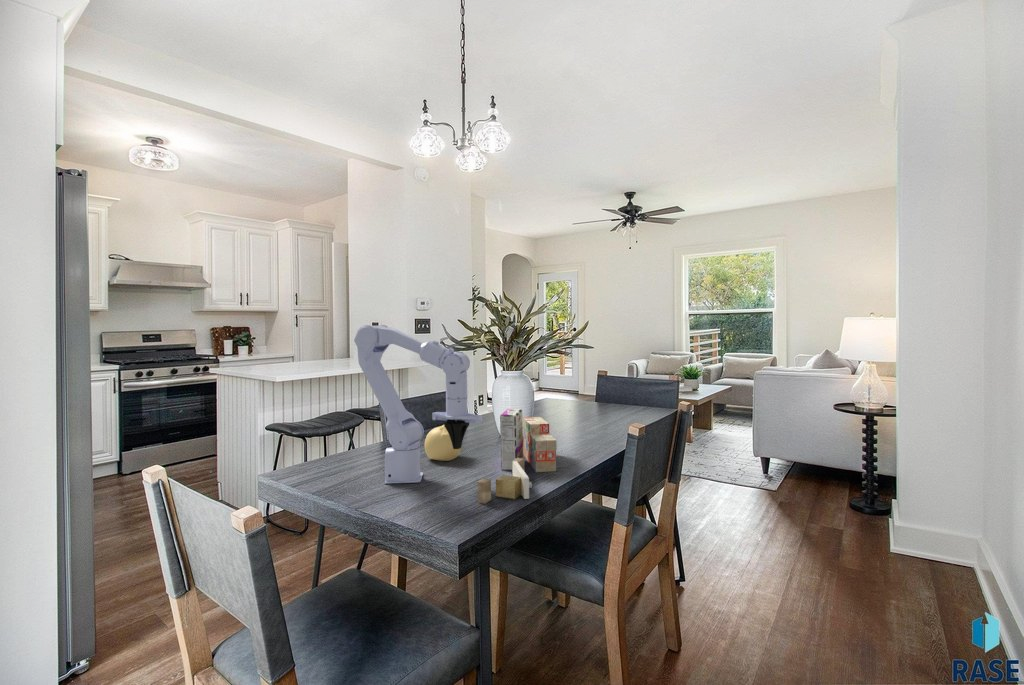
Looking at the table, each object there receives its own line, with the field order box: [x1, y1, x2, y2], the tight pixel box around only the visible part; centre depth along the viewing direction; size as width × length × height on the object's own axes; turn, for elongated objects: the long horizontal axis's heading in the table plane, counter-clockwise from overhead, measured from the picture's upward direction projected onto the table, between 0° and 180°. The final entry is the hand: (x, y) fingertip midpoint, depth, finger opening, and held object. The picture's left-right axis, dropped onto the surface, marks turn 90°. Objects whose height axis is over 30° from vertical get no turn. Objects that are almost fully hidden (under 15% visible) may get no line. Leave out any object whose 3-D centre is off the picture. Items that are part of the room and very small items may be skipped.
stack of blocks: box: [522, 416, 557, 473], centre depth 150 cm, size 21×6×12 cm, turn 9°
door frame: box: [477, 457, 525, 505], centre depth 126 cm, size 2×23×5 cm, turn 155°
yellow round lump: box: [424, 424, 463, 462], centre depth 155 cm, size 11×12×11 cm
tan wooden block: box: [495, 474, 522, 501], centre depth 120 cm, size 5×4×4 cm
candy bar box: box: [499, 408, 524, 471], centre depth 147 cm, size 11×5×16 cm, turn 168°
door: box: [513, 461, 533, 500], centre depth 125 cm, size 2×15×5 cm, turn 11°
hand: (457, 448), depth 130 cm, fingers closed
